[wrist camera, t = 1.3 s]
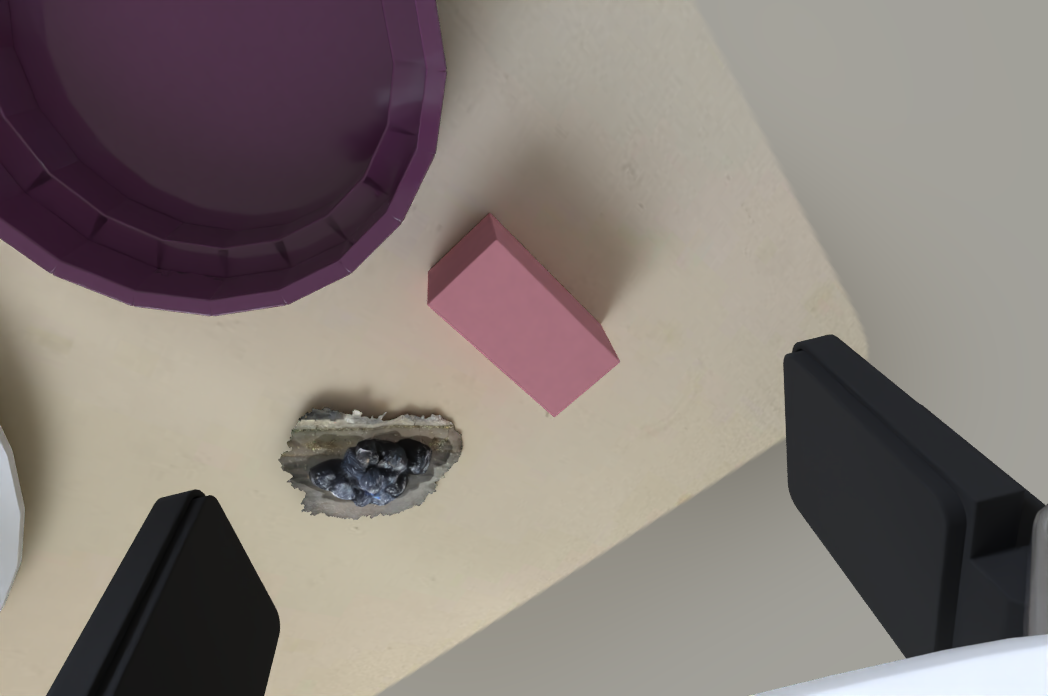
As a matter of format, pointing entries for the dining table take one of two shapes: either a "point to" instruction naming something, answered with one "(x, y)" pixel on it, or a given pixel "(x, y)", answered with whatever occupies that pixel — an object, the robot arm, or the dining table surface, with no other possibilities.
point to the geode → (368, 461)
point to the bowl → (213, 142)
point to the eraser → (519, 316)
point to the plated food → (9, 519)
